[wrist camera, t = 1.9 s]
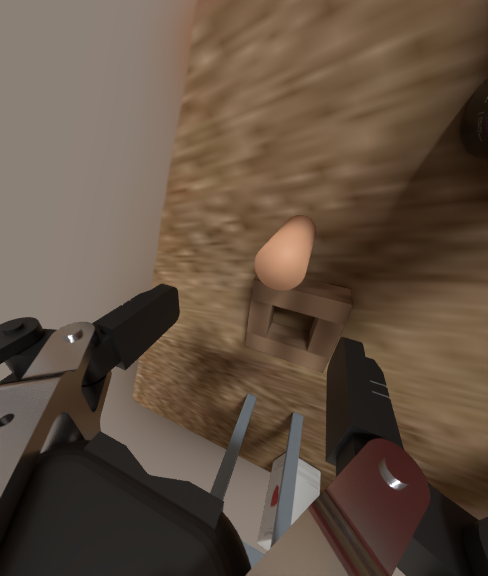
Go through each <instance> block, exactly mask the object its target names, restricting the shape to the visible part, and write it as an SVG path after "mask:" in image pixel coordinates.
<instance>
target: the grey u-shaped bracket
mask: <svg viewBox="0 0 488 576" xmlns="http://www.w3.org/2000/svg"><path fill="white" fill-rule="evenodd" d="M256 398H257V397H255V396H253V395H251V394H248V395H247V397H246V400H245V403H244V405H243V408H242V411H241V413H240V416H239V418H238V421H237V424H236V426H235V429H234V432H233V434H232V437H231V440H230V442H229V445H228V447H227V450H226V453H225V456H224V458H223V461H222V463H221V466H220V469H219V471H218V474H217V476H216V479H215V482H214V485H213V487H212V490H211V492H210V494H212V495H213V496H215V497H217V498H219V499H221V500H222V501H223V499H224V496H225V493H226V490H227V487H228V484H229V481H230V478H231V475H232V472H233V469H234V466H235V463H236V460H237V457H238V454H239V451H240V448H241V445H242V442H243V439H244V436H245V433H246V430H247V427H248V424H249V421H250V418H251V415H252V411H253V408H254V405H255V402H256ZM302 423H303V416H302V415H299V414H297V413H295V412H293V415H292V417H291V423H290V429H289V436H288V442H287V448H286V454H285V460H284V467H283V473H282V479H281V485H280V491H279V497H278V504H277V510H276V516H275V522H274V528H273V535H272V541H271V547H272V546H273V545H274V544H275V543H276V542H277V541H278V539H279V538H280V537H281V536H282V535H283V534H284V533H285V532H286V531H287V530H288V529H289V527H290V526H291V520H292V511H293V502H294V493H295V485H296V476H297V467H298V458H299V449H300V441H301V432H302ZM242 542H243V541H242ZM243 545H244V547H245V550H246V553H247V555H248V558H249V561H250V564H251V568H253V567H254V566H255V565H256V564H257V562H258V561H259V560H260V559H261V558H262V557H263V556H264V555H265V554H263V553H261V552H260V551H258V550H257V549H255V548H253V547H252V546H250V545H248V544H247V543H245V542H243ZM271 547H270V548H271Z"/></svg>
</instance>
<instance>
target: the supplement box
mask: <svg viewBox="0 0 488 576" xmlns="http://www.w3.org/2000/svg"><path fill="white" fill-rule="evenodd" d="M285 454H286V453H285ZM285 454H283V455H282V456H280V457H279V458H277V459H276V460H275V461H274V462H273V467H272V471H271V476H270V481H269V486H268V491H267V496H266V501H265V506H264V511H263V516H262V521H261V526H260V531H259V535H258V540H257V543H258V544H259V545H261V546H262V547H263V548H265V549H266V550H269V549H270V547H271V541H272V535H273V528H274V522H275V516H276V510H277V504H278V497H279V491H280V485H281V479H282V473H283V467H284V460H285ZM320 474H321V472H320V471H319V470H317V469H316V468H314V467H312V466H311V465H309V464H308V463H306V462H304V461H303V460H301V459H300V458H298V467H297V476H296V485H295V493H294V502H293V511H292V520H291V525H292V524H293V523H294V522H295V521H296V520H297V519H298V518H299V516H300V515H301V514H302V513H303V512H304V511H305V510H306V509H307V508H308V507H309V506H310V504H311V503H312V502H313V501H314V500H315V499H316V498H317V497H318V496H319V495H320Z"/></svg>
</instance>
